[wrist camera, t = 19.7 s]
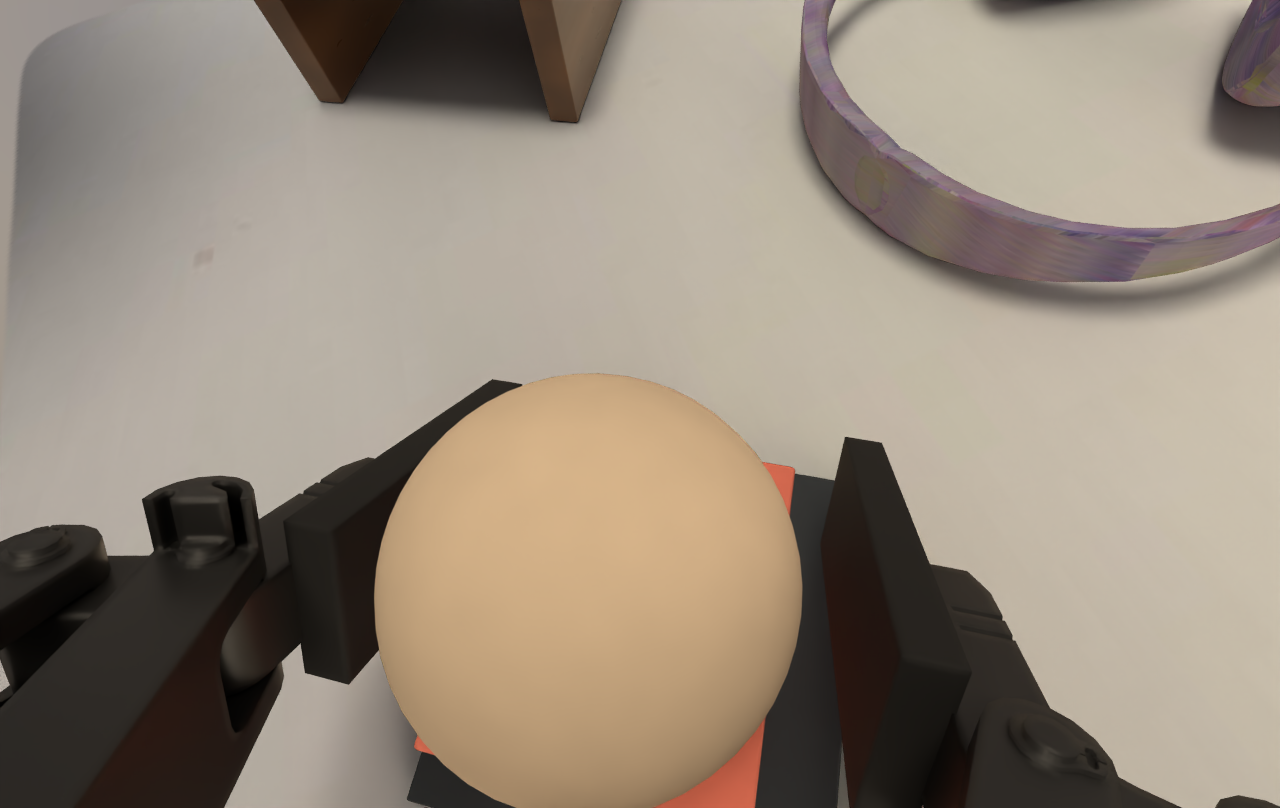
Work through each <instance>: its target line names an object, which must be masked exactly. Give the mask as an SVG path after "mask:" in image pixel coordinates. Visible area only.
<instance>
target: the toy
mask: <svg viewBox="0 0 1280 808" xmlns="http://www.w3.org/2000/svg"><path fill="white" fill-rule="evenodd" d="M794 476H795V469H794V468H792V467H788V466H782V465H776V464H771V463H765V462H761V460H760V459H759V457H758V456H757V454H756V453H755V452H754V451H753V450H752V448H751V447H750V446H749V445H748V444H747V443H746V442H745V441H744V440H743V438H742V437H741V436H740V435H739V434H738V433H737V432H736V431H734V430H733V429H732V428H731V427H730V426H729V425H728V424H726V423H725V422H724V421H723V420H722V419H721V418H719V417H718V416H717V415H716V414H715V413H713V412H712V411H710V410H709V409H707V408H706V407H704V406H703V405H701V404H700V403H698V402H697V401H695V400H693V399H691V398H689V397H687V396H685V395H683V394H681V393H679V392H677V391H675V390H673V389H670V388H668V387H665V386H662V385H659V384H656V383H653V382H650V381H646V380H641V379H637V378H632V377H628V376H620V375H610V374H599V373H596V374H572V375H565V376H558V377H551V378H547V379H544V380H540V381H536V382H532V383H529V384H526V385H523V386H521V387H518V388H516V389H513V390H510V391H508V392H506V393H504V394H502V395H500V396H498V397H496V398H494V399H492V400H490V401H488V402H486V403H485V404H483V405H482V406H480V407H479V408H477V409H476V410H474V411H473V412H471V413H470V414H468V415H467V416H465V417H464V418H463V419H462V420H461V421H459V422H458V423H457V424H456V425H455V426H453V427H452V428H451V429H450V430H449V431H448V432H446V433H445V435H444V436H443V437H442V438H441V439H440V440H439V441H438V442H437V443H436V444H435V445H434V446H433V447H432V448H431V449H430V450H429V452H428V453H427V454H426V455H425V457H424V458H423V459H422V461H421V462H420V463H419V465H418V466H417V467H416V468H415V470H414V471H413V473H412V475H411V476H410V478H409V480H408V481H407V483H406V485H405V486H404V488H403V490H402V491H401V493H400V495H399V497H398V500H397V502H396V504H395V506H394V508H393V510H392V513H391V515H390V517H389V520H388V523H387V526H386V530H385V533H384V536H383V539H382V542H381V547H380V552H379V557H378V562H377V567H376V578H375V591H374V605H375V626H376V634H377V640H378V646H379V651H380V657H381V660H382V664H383V667H384V670H385V673H386V676H387V679H388V682H389V685H390V688H391V690H392V692H393V694H394V696H395V698H396V700H397V702H398V704H399V706H400V708H401V710H402V712H403V714H404V715H405V717H406V718H407V720H408V721H409V723H410V724H411V726H412V727H413V729H414V730H415V732H416V733H417V738H416V741H415V745H414V748H415V749H416V750H418V751H422V752H425V753H429V754H432V755H435V756H436V757H437V758H438V759H439V760H440V761H441V762H442V763H443V764H444V765H445V766H446V767H447V768H448V769H450V770H451V771H452V772H453V773H455V774H456V775H457V776H458V777H460V778H461V779H462V780H463V781H465V782H466V783H467V784H468V785H470V786H472V787H474V788H475V789H477V790H479V791H481V792H482V793H484V794H486V795H488V796H489V797H491V798H493V799H495V800H497V801H500V802H503V803H505V804H508V805H510V806H513V807H516V808H755V802H756V793H757V785H758V777H759V768H760V760H761V751H762V743H763V735H764V726H765V718H766V715H767V713H768V712H769V710H770V709H771V707H772V706H773V704H774V702H775V700H776V698H777V695H778V693H779V691H780V689H781V687H782V685H783V683H784V680H785V678H786V676H787V673H788V670H789V667H790V664H791V661H792V657H793V654H794V651H795V648H796V644H797V638H798V632H799V626H800V620H801V611H802V575H801V564H800V556H799V551H798V547H797V542H796V538H795V533H794V529H793V525H792V522H791V520H790V510H791V501H792V493H793V485H794Z"/></svg>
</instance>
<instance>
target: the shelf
mask: <svg viewBox="0 0 1280 808" xmlns="http://www.w3.org/2000/svg"><path fill="white" fill-rule="evenodd" d="M254 1H255V3H256V4H257V6H258V7H259V9H260V10H261V12H262V13H263V15H264V16H265V18H266V20H267V21H268V23H269V24H270V26H271V27H272V29H273V30H274V32H275V33H276V35H277V36H278V38H279V39H280V41H281V43H282V44H283V46H284V47H285V49H286V50H287V52H288V53H289V55H290V56H291V58H292V59H293V61H294V63H295V64H296V66H297V67H298V69H299V70H300V72H301V73H302V75H303V76H304V78H305V79H306V81H307V83H308V84H309V86H310V87H311V89H312V90H313V92H314V93H315V95H316V96H317V98H318V99H319V101H327V102H339V103H343V102H344V100H345V98H346V97H347V95H348V93H349V91H350V90H351V88H352V86H353V85H354V83H355V81H356V80H357V78H358V76H359V74H360V73H361V71H362V69H363V68H364V66H365V64H366V63H367V61H368V59H369V57H370V56H371V54H372V52H373V51H374V49H375V47H376V46H377V44H378V42H379V40H380V39H381V37H382V35H383V34H384V32H385V30H386V29H387V27H388V25H389V23H390V22H391V20H392V18H393V17H394V15H395V13H396V12H397V10H398V8H399V6H400V5H401V3H402V1H403V0H254ZM519 2H520V6H521V10H522V13H523V17H524V21H525V25H526V29H527V32H528V36H529V40H530V44H531V48H532V51H533V55H534V59H535V63H536V67H537V70H538V74H539V78H540V82H541V86H542V89H543V93H544V97H545V101H546V105H547V108H548V112H549V116H550V119H551V120H556V121H568V122H577V121H578V119H579V116H580V113H581V111H582V108H583V105H584V102H585V99H586V97H587V94H588V91H589V88H590V86H591V83H592V80H593V77H594V74H595V72H596V69H597V66H598V63H599V61H600V58H601V55H602V52H603V50H604V47H605V44H606V41H607V38H608V36H609V33H610V30H611V27H612V25H613V22H614V19H615V16H616V13H617V11H618V8H619V5H620V2H621V0H519Z"/></svg>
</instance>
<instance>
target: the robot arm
mask: <svg viewBox="0 0 1280 808" xmlns="http://www.w3.org/2000/svg"><path fill="white" fill-rule="evenodd" d="M521 386H522V384H518V383H512V382H506V381H499V380H493V379H492V380H491V381H489V382H488V383H486V384H485V385H483V386H482V387H480V388H479V389H477V390H476V391H474V392H473V393H471V394H470V395H469V396H467V397H466V398H464V399H463V400H461V401H460V402H458V403H457V404H455V405H454V406H452V407H451V408H449V409H448V410H446V411H445V412H443V413H442V414H440V415H439V416H437V417H436V418H434V419H433V420H432V421H430V422H429V423H427V424H426V425H424V426H423V427H421V428H420V429H418V430H417V431H415V432H414V433H412V434H411V435H409V436H408V437H406V438H405V439H403V440H402V441H400V442H399V443H397V444H396V445H395V446H393V447H392V448H390V449H389V450H387V451H386V452H384V453H383V454H381V455H380V456H378V457H377V458H375V459H374V458H369V457H368V458H365V459H362V460H359V461H356V462H353V463H351V464H348V465H345V466H342V467H340V468H338V469H337V470H335V471H334V472H332V473H331V474H329V475H328V476H326V477H324V478H323V479H321V482H320V483H315V484H314V485H312V486H310V487H309V488H307V489H306V490H304V493H303V494H298V495H296V496H295V497H293V498H292V499H290V500H289V501H287V502H285V503H284V504H282V505H281V506H279V507H278V508H276V509H275V510H273V511H271V512H270V513H268V514H267V515H265V516H264V517H262V518H261V519H258V513H257V507H256V500H255V494H254V489H253V488H252V486H251V484H250V483H249V482H247V481H245V480H242V479H240V478H237V477H227V476H210V477H198V478H194V479H189V480H185V481H180V482H176V483H173V484H171V485H168V486H166V487H163V488H160V489H158V490H156V491H154V492H153V493H151V494H149V495H148V496H146V497H145V498H143V499H142V502H143V506H144V510H145V514H146V518H147V523H148V527H149V531H150V535H151V539H152V544H153V548H154V551H153V553H152V554H151V555H150V556H107V553H106V549H105V545H104V542H103V538H102V535H101V534H100V533H99V531H98V530H97V529H95V528H92V527H89V526H85V525H51V527H49V526H45V527H40V528H36V529H33V530H31V531H29V532H26V533H22V534H19V535H15V536H13V537H10V538H8V539H6V540H3V541H1V542H0V660H1V663H2V666H3V668H4V671H5V674H6V676H7V679H8V681H9V684H10V686H8V687H7V688H6V689H4V690H3V691H2V692H0V808H224V807H225V805H226V803H227V800H228V798H229V796H230V794H231V792H232V790H233V788H234V786H235V784H236V782H237V780H238V778H239V775H240V773H241V771H242V769H243V767H244V765H245V763H246V761H247V759H248V757H249V755H250V753H251V751H252V748H253V746H254V744H255V742H256V740H257V738H258V736H259V734H260V732H261V730H262V728H263V726H264V723H265V721H266V719H267V717H268V715H269V713H270V711H271V709H272V707H273V705H274V703H275V701H276V698H277V696H278V694H279V692H280V690H281V688H282V683H283V678H284V674H283V668H282V660H284V659H285V658H286V657H287V656H288V655H289V654H290V653H291V652H292V651H293V650H294V649H295V648H296V647H297V646H298V645H299V644H300V643H301V649H302V656H303V662H304V669H305V673H307V674H311V675H315V676H319V677H322V678H326V679H330V680H334V681H337V682H341V683H345V684H350V683H351V681H352V680H353V679H354V678H355V677H356V676H357V675H358V673H359V672H360V671H361V670H362V669H363V668H364V666H365V665H366V664H367V663H368V662H369V661H370V659H371V658H372V657H373V656H374V655H375V654H376V653H377V651H378V650H379V646H378V640H377V634H376V626H375V605H374V591H375V578H376V567H377V562H378V557H379V552H380V547H381V542H382V539H383V536H384V533H385V530H386V526H387V523H388V520H389V517H390V515H391V513H392V510H393V508H394V506H395V504H396V502H397V500H398V497H399V495H400V493H401V491H402V490H403V488H404V486H405V485H406V483H407V481H408V480H409V478H410V476H411V475H412V473H413V471H414V470H415V468H416V467H417V466H418V465H419V463H420V462H421V461H422V459H423V458H424V457H425V455H426V454H427V453H428V452H429V450H430V449H431V448H432V447H433V446H434V445H435V444H436V443H437V442H438V441H439V440H440V439H441V438H442V437H443V436H444V435H445V433H446V432H448V431H449V430H450V429H451V428H452V427H453V426H455V425H456V424H457V423H458V422H459V421H461V420H462V419H463V418H464V417H465V416H467V415H468V414H470V413H471V412H473V411H474V410H476V409H477V408H479V407H480V406H482V405H483V404H485V403H486V402H488V401H490V400H492V399H494V398H496V397H498V396H500V395H502V394H504V393H506V392H508V391H510V390H513V389H516V388H518V387H521ZM820 547H821V556H822V565H823V574H824V583H825V592H826V601H827V609H828V618H829V627H830V636H831V645H832V654H833V663H834V672H835V681H836V690H837V699H838V708H839V717H840V726H841V735H842V744H843V753H844V762H845V771H846V780H847V789H848V798H849V807H850V808H922V805H923V807H924V808H1181V807H1179V806H1177V805H1175V804H1173V803H1170V802H1168V801H1166V800H1164V799H1162V798H1159V797H1157V796H1155V795H1153V794H1151V793H1149V792H1146V791H1144V790H1142V789H1140V788H1138V787H1136V786H1134V785H1132V784H1130V783H1129V782H1127V781H1125V780H1123V779H1121V778H1119V777H1118V775H1117V772H1116V770H1115V767H1114V764H1113V761H1112V760H1111V759H1110V757H1109V756H1108V755H1107V754H1106V752H1105V751H1104V750H1103V748H1102V747H1101V746H1100V745H1099V743H1098V742H1097V741H1096V740H1095V739H1094V738H1093V737H1092V736H1090V735H1089V734H1088V733H1087V732H1085V731H1084V730H1083V729H1082V728H1081V727H1079V726H1078V725H1077V724H1076V723H1075V722H1073V721H1072V720H1070V719H1068V718H1066V717H1065V716H1063V715H1061V714H1059V713H1057V712H1056V711H1054V710H1052V709H1050V707H1049V705H1048V703H1047V702H1046V700H1045V698H1044V696H1043V694H1042V692H1041V690H1040V688H1039V686H1038V684H1037V682H1036V680H1035V678H1034V676H1033V674H1032V672H1031V671H1030V669H1029V667H1028V665H1027V663H1026V661H1025V659H1024V657H1023V655H1022V653H1021V651H1020V649H1019V647H1018V645H1017V643H1016V641H1013V640H1012V634H1011V632H1010V630H1009V628H1008V626H1007V624H1006V622H1005V621H1002V617H1003V616H1002V614H1001V612H1000V610H999V608H998V607H997V605H996V603H995V601H994V599H993V597H992V595H991V593H990V592H989V591H988V590H987V589H986V588H984V587H983V586H982V585H981V584H980V583H979V582H978V581H977V580H976V579H975V578H974V577H973V576H972V575H971V574H970V573H969V572H968V571H963V570H958V569H953V568H948V567H942V566H937V565H932V564H929V561H928V559H927V556H926V554H925V551H924V549H923V546H922V543H921V541H920V538H919V536H918V533H917V531H916V528H915V526H914V523H913V521H912V518H911V516H910V513H909V511H908V508H907V505H906V503H905V500H904V498H903V495H902V493H901V490H900V488H899V485H898V483H897V480H896V478H895V475H894V472H893V470H892V467H891V465H890V462H889V460H888V457H887V455H886V452H885V450H884V447H883V445H882V443H880V442H874V441H868V440H861V439H855V438H849V437H845V440H844V444H843V448H842V453H841V457H840V461H839V465H838V470H837V474H836V478H835V483H834V487H833V491H832V495H831V500H830V504H829V508H828V513H827V517H826V521H825V526H824V530H823V534H822V538H821V543H820ZM1215 808H1280V807H1279V806H1277V805H1275V804H1272V803H1270V802H1267V801H1265V800H1260V799H1254V798H1249V797H1244V796H1239V795H1238V796H1233V797H1229V798H1224V799H1220V801H1219V802H1218V804H1217V805H1216V807H1215Z"/></svg>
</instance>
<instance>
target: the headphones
mask: <svg viewBox="0 0 1280 808" xmlns="http://www.w3.org/2000/svg"><path fill="white" fill-rule="evenodd" d="M834 3H835V0H805V2H804V6H803V17H802V27H801V53H800V83H799V94H800V105H801V110H802V115H803V120H804V125H805V129H806V132H807V135H808V137H809V140H810V142H811V145H812V147H813V149H814V151H815V154H816V156H817V158H818V160H819V162H820V165H821V167H822V169H823V170H824V171H825V173H826V174H827V175H828V177H829V178H830V179H831V181H832V182H833V183H834V185H835V186H836V187H837V189H838V190H839V191H840V193H841V194H842V195H843V197H844V198H845V199H846V200H847V201H848V202H850V203H851V204H852V205H853V206H854V207H855V208H856V209H857V210H859V211H860V212H862V213H863V214H865V215H866V216H867V217H868V218H869V219H870V220H871V221H872V222H873V223H874V224H875V225H876V226H878V227H879V228H880V229H882V230H883V231H884V232H885V233H887V234H888V235H889V236H891V237H893V238H895V239H897V240H899V241H901V242H903V243H905V244H907V245H908V246H910V247H912V248H914V249H916V250H918V251H920V252H922V253H924V254H926V255H928V256H930V257H934V258H937V259H940V260H943V261H946V262H949V263H953V264H956V265H959V266H962V267H965V268H969V269H972V270H975V271H978V272H982V273H988V274H994V275H999V276H1005V277H1010V278H1016V279H1022V280H1035V281H1053V282H1123V281H1131V280H1138V279H1144V278H1150V277H1156V276H1163V275H1169V274H1175V273H1181V272H1185V271H1189V270H1192V269H1196V268H1200V267H1204V266H1207V265H1211V264H1214V263H1217V262H1220V261H1223V260H1226V259H1229V258H1232V257H1234V256H1237V255H1239V254H1242V253H1244V252H1247V251H1249V250H1252V249H1254V248H1257V247H1259V246H1262V245H1264V244H1267V243H1269V242H1271V241H1273V240H1275V239H1277V238H1279V237H1280V204H1278V205H1276V206H1273V207H1270V208H1266V209H1263V210H1259V211H1256V212H1252V213H1249V214H1245V215H1242V216H1238V217H1235V218H1231V219H1228V220H1224V221H1217V222H1210V223H1204V224H1197V225H1191V226H1184V227H1177V228H1122V227H1114V226H1105V225H1097V224H1088V223H1080V222H1071V221H1067V220H1063V219H1059V218H1055V217H1051V216H1047V215H1042V214H1038V213H1034V212H1030V211H1027V210H1024V209H1021V208H1019V207H1016V206H1013V205H1011V204H1008V203H1005V202H1003V201H1000V200H997V199H995V198H992V197H989V196H986V195H984V194H981V193H978V192H976V191H974V190H972V189H971V188H969V187H967V186H965V185H963V184H961V183H959V182H957V181H955V180H954V179H952V178H950V177H948V176H946V175H944V174H942V173H941V172H940V171H938V170H937V169H935V168H934V167H932V166H931V165H929V164H928V163H926V162H925V161H923V160H922V159H920V158H919V157H917V156H916V155H914V154H913V153H910V152H908V151H906V150H904V149H901V148H900V147H899V145H898V144H897V143H896V142H895V141H894V140H893V139H892V138H891V137H890V136H889V135H888V134H886V133H885V132H884V131H883V130H882V129H881V128H879V127H878V126H877V125H876V124H875V123H874V122H872V121H871V120H870V119H869V118H868V117H867V116H866V115H865V114H864V113H863V111H862V110H861V109H860V108H859V107H858V106H857V105H856V104H855V103H854V102H853V100H852V99H851V98H850V97H849V95H848V93H847V92H846V90H845V88H844V87H843V85H842V83H841V81H840V80H839V78H838V76H837V75H836V73H835V71H834V68H833V66H832V63H831V60H830V56H829V50H828V44H827V27H828V21H829V16H830V13H831V10H832V8H833V5H834ZM1222 83H1223V87H1224V90H1225V91H1226V92H1227V93H1228V94H1229V95H1230V96H1231V97H1233V98H1234V99H1236V100H1237V101H1239V102H1241V103H1244V104H1248V105H1251V106H1260V107H1265V106H1279V105H1280V0H1252V2H1251V4H1250V6H1249V8H1248V10H1247V12H1246V14H1245V16H1244V18H1243V20H1242V23H1241V25H1240V27H1239V29H1238V31H1237V33H1236V36H1235V38H1234V40H1233V43H1232V45H1231V48H1230V50H1229V53H1228V56H1227V59H1226V62H1225V66H1224V70H1223V75H1222Z"/></svg>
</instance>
